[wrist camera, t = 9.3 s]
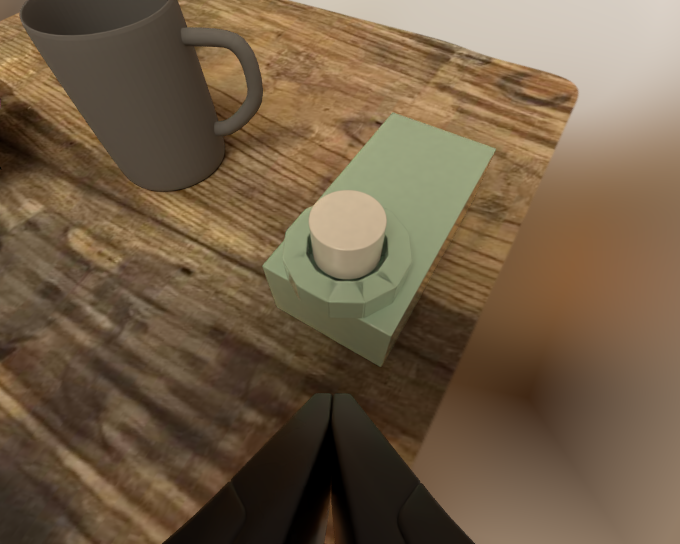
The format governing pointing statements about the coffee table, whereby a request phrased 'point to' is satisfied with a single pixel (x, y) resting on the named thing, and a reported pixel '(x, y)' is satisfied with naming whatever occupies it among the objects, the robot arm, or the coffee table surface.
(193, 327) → the coffee table surface
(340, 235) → the beige push button
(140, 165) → the mug
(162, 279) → the coffee table surface
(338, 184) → the green block with knob
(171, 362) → the coffee table surface
